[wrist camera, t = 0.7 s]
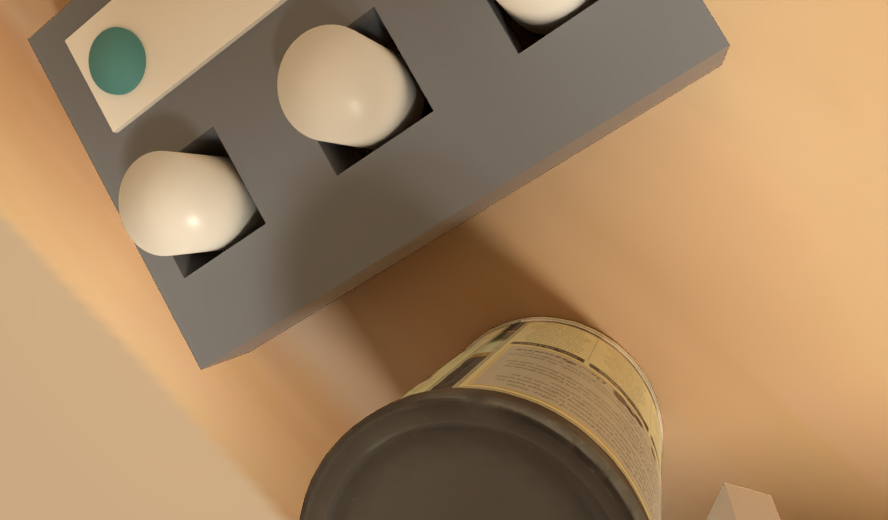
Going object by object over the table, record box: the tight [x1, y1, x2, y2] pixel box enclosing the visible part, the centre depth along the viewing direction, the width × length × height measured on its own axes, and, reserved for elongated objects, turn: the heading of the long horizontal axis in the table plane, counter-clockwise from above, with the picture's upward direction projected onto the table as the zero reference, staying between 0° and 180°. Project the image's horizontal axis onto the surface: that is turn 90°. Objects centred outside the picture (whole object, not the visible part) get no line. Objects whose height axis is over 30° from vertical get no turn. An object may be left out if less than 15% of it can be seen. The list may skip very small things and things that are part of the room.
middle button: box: [277, 25, 425, 150], centre depth 30 cm, size 4×4×5 cm
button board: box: [28, 0, 730, 370], centre depth 32 cm, size 18×26×4 cm
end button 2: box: [118, 151, 266, 256], centre depth 33 cm, size 4×4×5 cm
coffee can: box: [300, 317, 663, 520], centre depth 26 cm, size 10×10×14 cm
